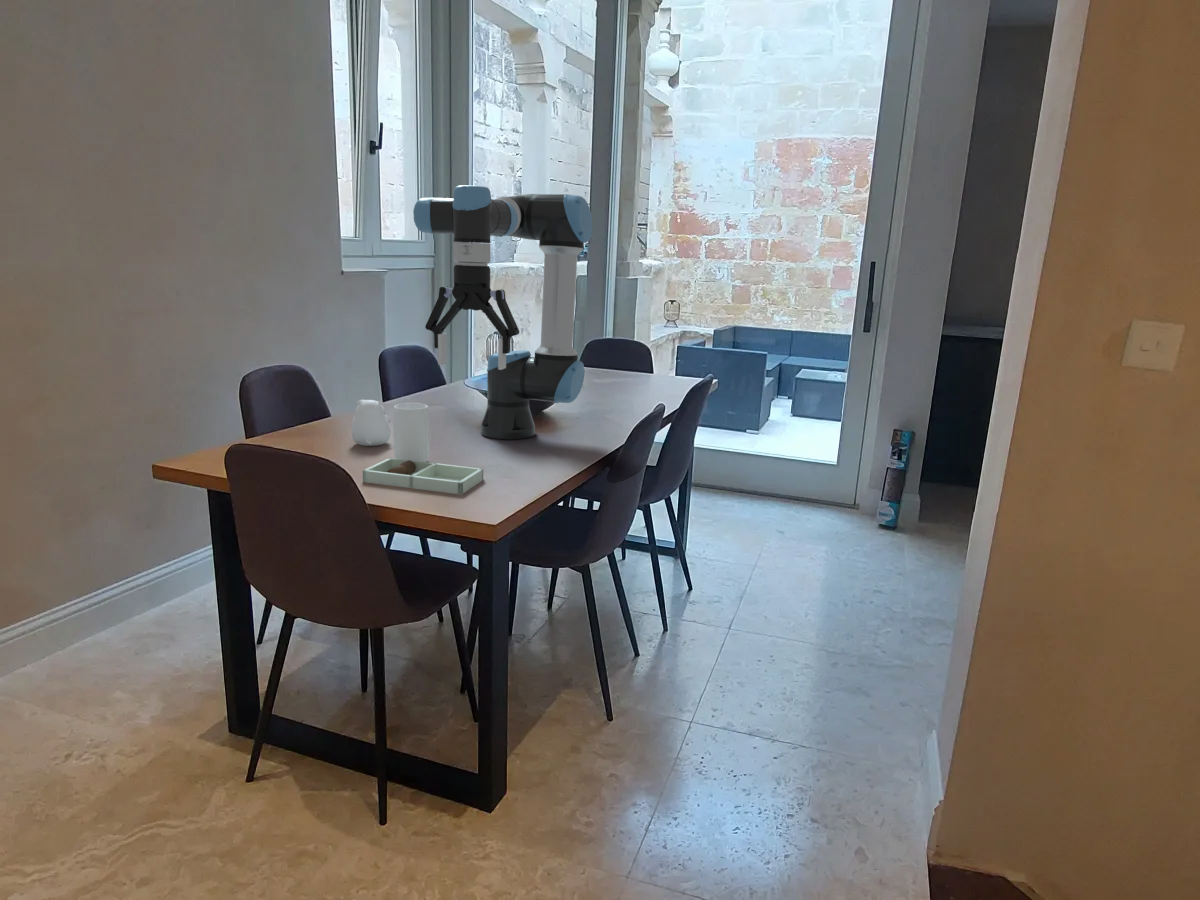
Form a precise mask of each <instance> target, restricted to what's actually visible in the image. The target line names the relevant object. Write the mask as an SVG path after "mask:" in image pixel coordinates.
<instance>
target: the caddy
mask: <svg viewBox="0 0 1200 900" xmlns="http://www.w3.org/2000/svg"><path fill="white" fill-rule="evenodd" d="M406 461H408V460H405V459H396V458H395V457H388V458H386V459H384V460H382V461H380V462H378V463H376V464H373V465H371V466H369V467H367V468H365V469H363V470H362V483H368V484H376V485H377V484H378V485H385V486H392V487H399V488H408V489H413V490H414V489H416V490H421V491H422V490H423V491H431V492H437V493H438V492H439V493H446V494H447V493H448V494H454V495H463V494H465V493H466V492H468V491H469V490H470V489H472V488H473V487H475V486H477V485H478V484H480V482H482V481H484V468H481V467H471V466H464V465H453V464H448V463H447V464H446V463H445V464H444V463H438V462H429V461H426V462H422V461H413V460H410V461H413V462H414V463H415V465H416V470H415V472H413V473H411V474H410V475H404V474H396V473H388V472H387V471H388V470H390V469H392V468H394V467H396V466H398V465H400V464H402V463H404V462H406Z"/></svg>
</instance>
